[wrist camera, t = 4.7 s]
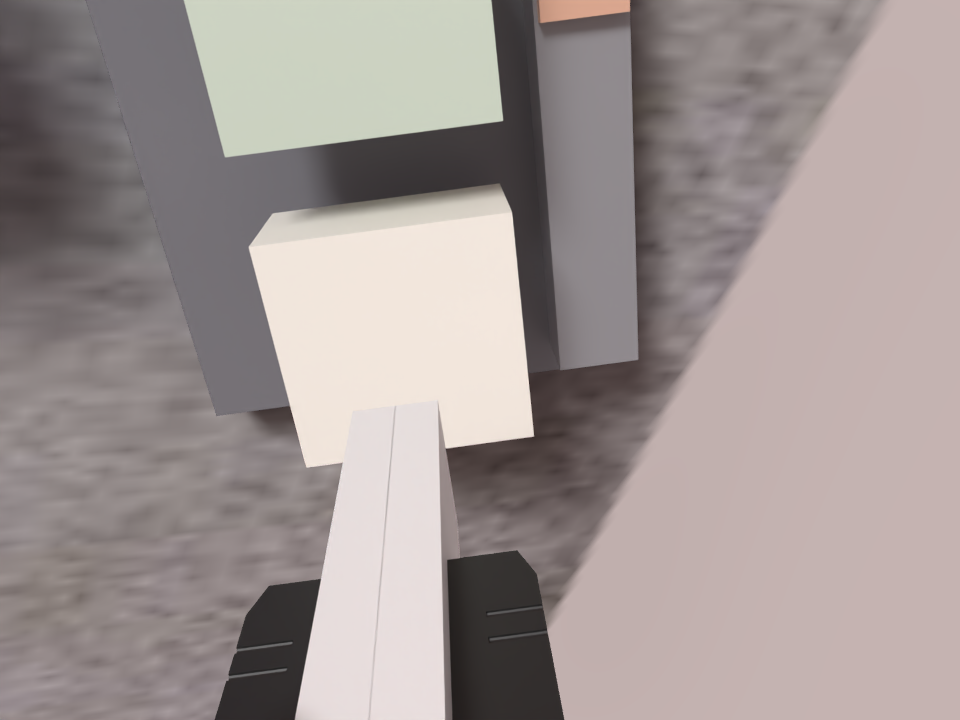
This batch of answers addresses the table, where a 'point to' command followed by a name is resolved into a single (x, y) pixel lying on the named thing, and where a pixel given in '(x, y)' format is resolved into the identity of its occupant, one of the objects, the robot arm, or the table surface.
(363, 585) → the robot arm
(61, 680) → the table surface
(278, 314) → the ivory key
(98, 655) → the table surface
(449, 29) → the sage key
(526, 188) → the keypad
